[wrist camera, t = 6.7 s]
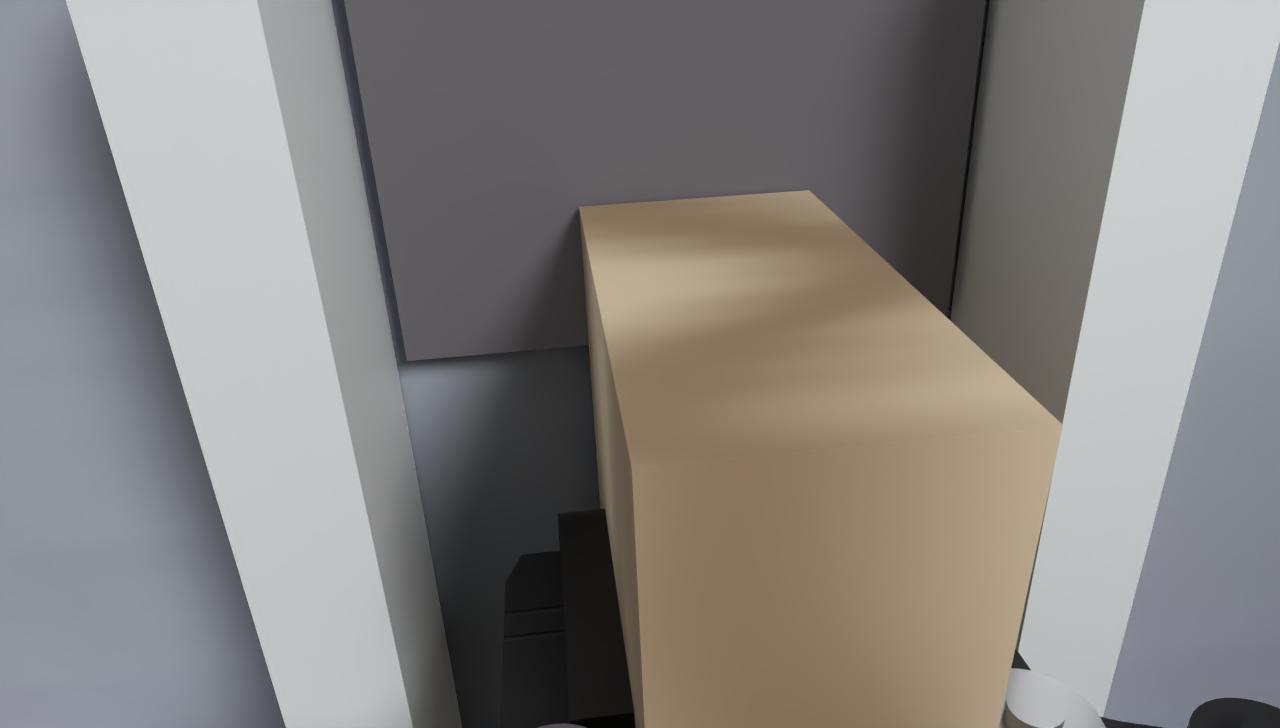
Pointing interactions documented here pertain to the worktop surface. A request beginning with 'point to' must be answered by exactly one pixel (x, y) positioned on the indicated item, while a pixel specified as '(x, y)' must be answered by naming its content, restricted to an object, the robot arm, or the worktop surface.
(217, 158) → the channel
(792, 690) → the block
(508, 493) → the worktop surface
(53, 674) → the worktop surface
